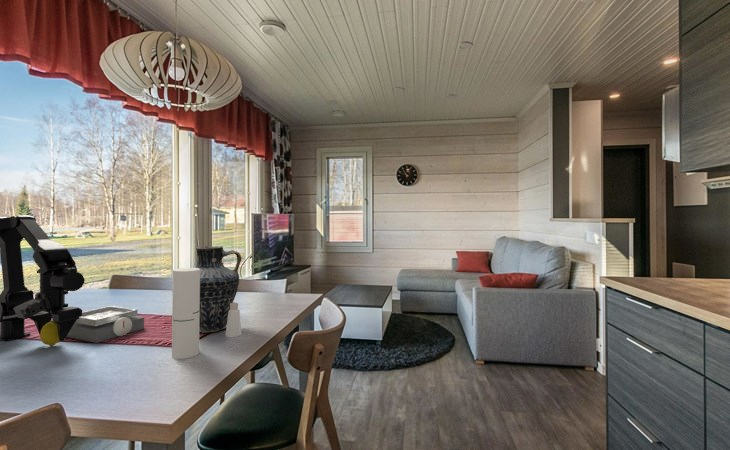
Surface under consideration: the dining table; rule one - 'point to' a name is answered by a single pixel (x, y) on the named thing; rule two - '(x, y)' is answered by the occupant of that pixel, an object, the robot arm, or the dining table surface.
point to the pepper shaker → (233, 321)
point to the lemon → (49, 334)
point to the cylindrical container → (185, 312)
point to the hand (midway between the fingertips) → (52, 339)
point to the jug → (216, 287)
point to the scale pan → (105, 315)
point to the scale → (106, 329)
